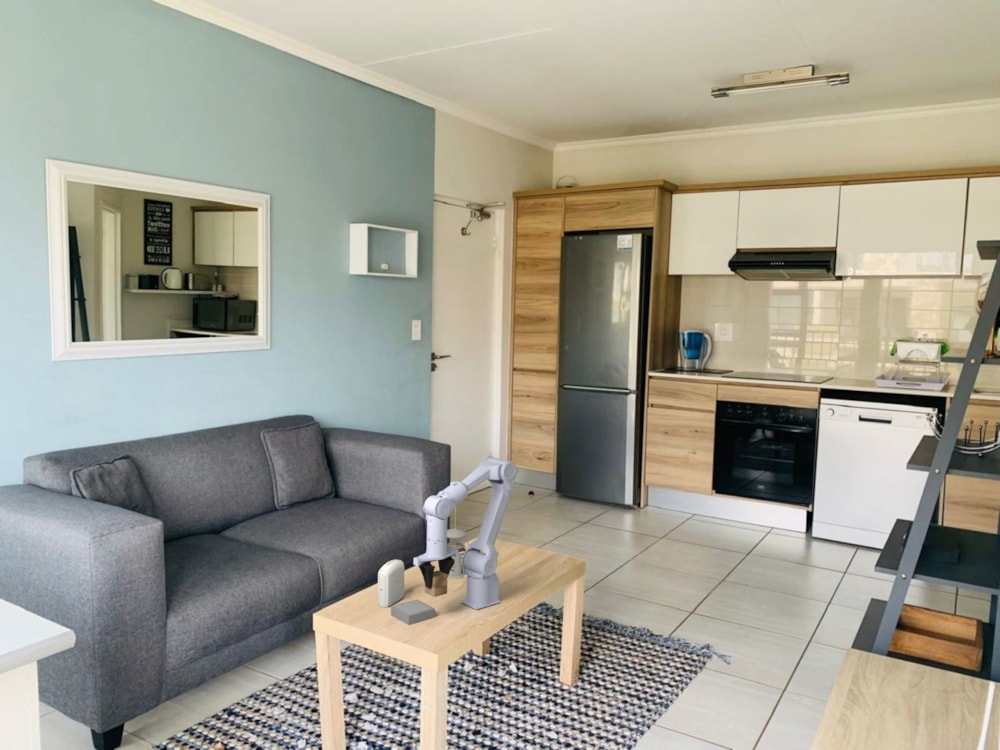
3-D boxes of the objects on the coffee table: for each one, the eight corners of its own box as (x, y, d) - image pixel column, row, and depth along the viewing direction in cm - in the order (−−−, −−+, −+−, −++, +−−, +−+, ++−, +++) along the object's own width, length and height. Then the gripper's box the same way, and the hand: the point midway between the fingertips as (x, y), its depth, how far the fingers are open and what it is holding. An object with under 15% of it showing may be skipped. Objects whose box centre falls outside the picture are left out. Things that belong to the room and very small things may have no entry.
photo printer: (387, 608, 217) (388, 567, 216) (375, 606, 219) (376, 565, 218) (406, 597, 227) (406, 557, 226) (394, 594, 228) (394, 555, 227)
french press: (455, 567, 255) (456, 495, 253) (478, 575, 247) (480, 501, 245) (433, 573, 248) (434, 500, 246) (456, 582, 240) (458, 506, 238)
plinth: (416, 607, 219) (417, 599, 219) (434, 617, 212) (435, 608, 212) (390, 614, 213) (391, 606, 213) (408, 625, 206) (408, 616, 206)
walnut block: (437, 589, 214) (437, 570, 213) (447, 593, 211) (447, 574, 210) (424, 592, 211) (425, 573, 210) (434, 597, 207) (434, 577, 207)
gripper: (448, 531, 217) (447, 576, 218) (407, 539, 208) (406, 587, 209) (463, 536, 212) (462, 583, 213) (422, 545, 203) (421, 594, 204)
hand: (435, 585), depth 211 cm, fingers closed on walnut block, 4 cm apart
